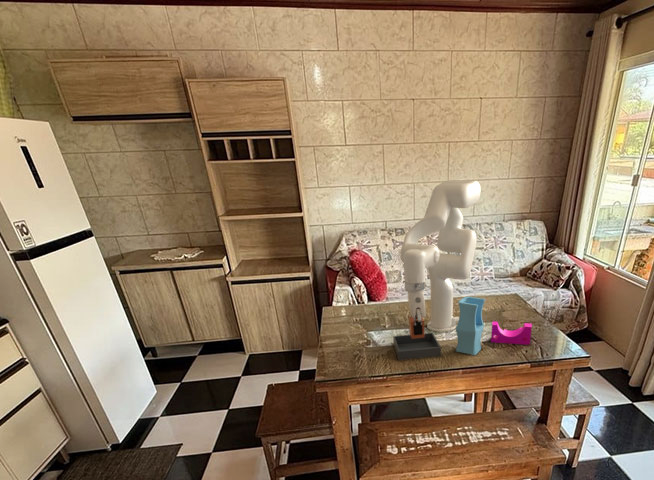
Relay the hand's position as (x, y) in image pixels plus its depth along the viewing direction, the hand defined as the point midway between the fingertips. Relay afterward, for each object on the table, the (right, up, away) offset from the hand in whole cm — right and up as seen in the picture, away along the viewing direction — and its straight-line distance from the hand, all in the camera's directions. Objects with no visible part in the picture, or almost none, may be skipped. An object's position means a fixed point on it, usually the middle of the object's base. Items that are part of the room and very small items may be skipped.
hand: (416, 330), depth 156 cm
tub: (0, -7, +3) cm, 8 cm away
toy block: (+38, -3, +9) cm, 39 cm away
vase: (+20, -7, +2) cm, 22 cm away
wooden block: (0, -2, +1) cm, 2 cm away
